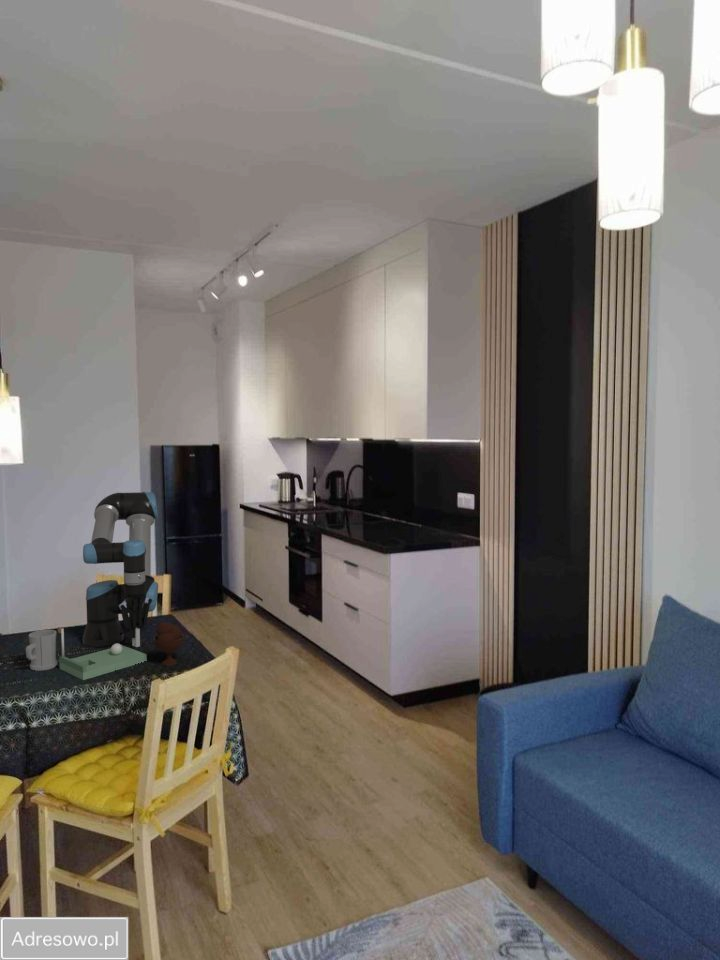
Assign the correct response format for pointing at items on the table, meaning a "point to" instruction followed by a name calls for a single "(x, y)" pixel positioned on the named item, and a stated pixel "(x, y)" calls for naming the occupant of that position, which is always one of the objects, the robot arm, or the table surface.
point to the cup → (42, 650)
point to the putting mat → (99, 661)
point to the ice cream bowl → (168, 641)
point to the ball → (116, 649)
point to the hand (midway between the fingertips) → (136, 645)
